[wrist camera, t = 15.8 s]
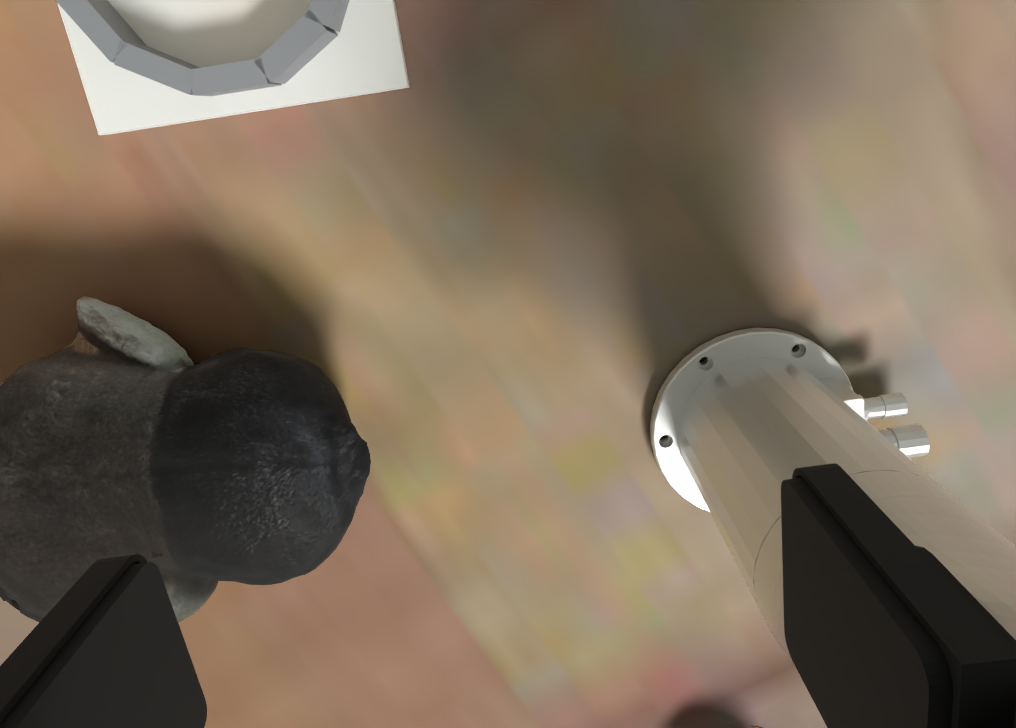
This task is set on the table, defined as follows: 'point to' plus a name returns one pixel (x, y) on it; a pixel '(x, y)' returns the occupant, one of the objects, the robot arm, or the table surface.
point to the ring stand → (227, 56)
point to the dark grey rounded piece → (169, 464)
